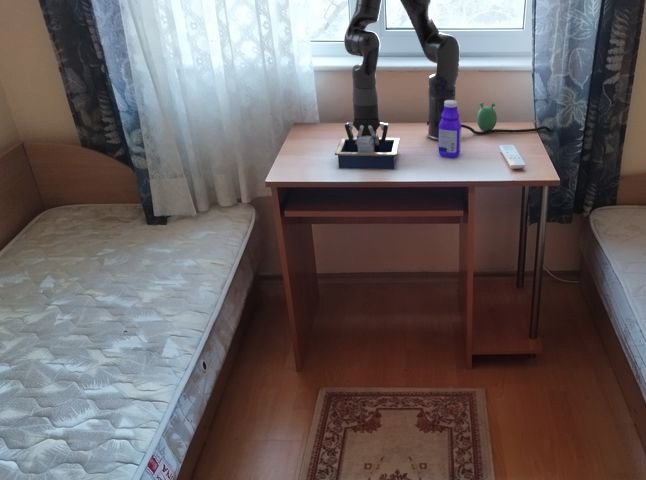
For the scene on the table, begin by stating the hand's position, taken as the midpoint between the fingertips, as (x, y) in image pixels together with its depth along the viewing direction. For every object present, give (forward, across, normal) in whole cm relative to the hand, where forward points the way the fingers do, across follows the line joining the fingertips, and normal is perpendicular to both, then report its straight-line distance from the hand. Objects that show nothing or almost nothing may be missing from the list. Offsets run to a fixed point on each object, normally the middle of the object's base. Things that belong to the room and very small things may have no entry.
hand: (368, 155), depth 214 cm
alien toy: (+2, -39, -32) cm, 50 cm away
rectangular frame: (+2, 0, 0) cm, 2 cm away
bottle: (+2, -26, -6) cm, 27 cm away
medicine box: (+2, 0, 0) cm, 2 cm away
